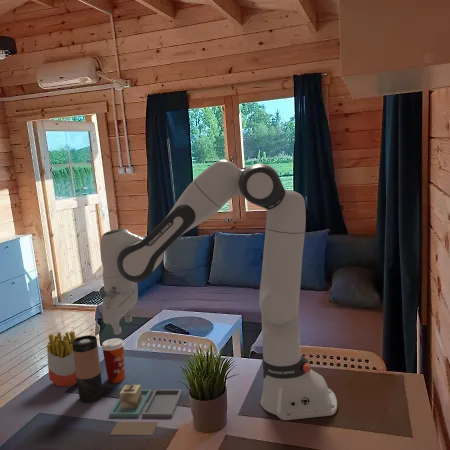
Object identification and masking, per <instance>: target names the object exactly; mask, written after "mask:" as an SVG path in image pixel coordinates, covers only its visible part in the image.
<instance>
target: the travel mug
mask: <svg viewBox="0 0 450 450" xmlns="http://www.w3.org/2000/svg"><path fill="white" fill-rule="evenodd" d="M75 338H76V337H75ZM72 346H73V355H74V363H75V372H76V379H77V383H76V384H77V390H78V397H79V401H80V402H81V403H83V404H92V403H95V402H98V401H100V399H102V398H103V393H104V392H103V382H102V381H103V380H102V371H101V370H102V369H101V363H100V355H99V346H98V339H97V336H95V335H92V334H91V335H90V334H89V335H81V336H78V338H76V339H75V340H74V342H73V343H72Z"/></svg>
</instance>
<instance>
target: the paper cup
mask: <svg viewBox="0 0 450 450" xmlns="http://www.w3.org/2000/svg"><path fill="white" fill-rule="evenodd" d="M124 345H125V342H124V340H123V339H122V338H119V337H117V338H116V337H115V338H110V339H107V340H104V341H103V342H102V345H101V350H102V353H103V359H104V365H105V371H106V375H107V381H108V382H109V383H111V384H117V383H120V382H123V381H124V380H125V379H126V378H125V377H126V375H125V372H126V371H125V370H126V369H125V351H124Z"/></svg>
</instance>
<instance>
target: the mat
mask: <svg viewBox="0 0 450 450" xmlns="http://www.w3.org/2000/svg"><path fill="white" fill-rule="evenodd" d="M158 424H159V422H158V421H117V422H116V423H115V425H114V427H113V429H112V430H111V432H110V434H109V436H148V437H149V436H153V435H154V432H155V430H156V427H157V425H158Z"/></svg>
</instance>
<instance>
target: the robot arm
mask: <svg viewBox="0 0 450 450" xmlns="http://www.w3.org/2000/svg"><path fill="white" fill-rule="evenodd" d="M236 196H237V197H238V196H243V198H244V199H245V200H247V202H249V203H251V204H253V205H255V206H258V207H260V208H263V209H265V211H266V223H265V224H266V225H265V233H264V234H265V235H264V245H263V255H262V265H261V275H260V276H261V277H260V287H259V296H258V305H259V308H260V311H261V338H262V355H263V356H262V360H261V370H262V372H261V373H262V376H263V387H262V394H261V398H260V405H261V407H262V409H264V410H265V411H266V412H267V413H270V414H272V415H275V416H276V417H278V418H279V420H282V421H290V420H299V419H300V420H301V419H310V418H318V417H327V416H328V417H330V416H334V414H336V412H337V410H338V400H337V397H336V394H335V393H334V391H333V390H332V389H330V388H329V387H328V384H327V382H326V380H325V378H324V377H323V376H322V375H321V374H320V373H317V372H316V371H315V370H312V368H311V366H310V364H309V361H308V359H307V356H306V355H304V356H303V355H302V354H301V353H302V351H301V331H300V318H299V306H300V295H301V283H302V282H301V281H302V268H303V266H302V264H303V254H304V253H303V252H304V245H305V235H306V221H307V219H306V218H307V217H306V216H307V215H306V201H305V198H304V196H303V195H302V194H301V193H299V192H297V191H295V190H290V189H286V188H284V185H283V182H282V181H281V179H280V176H279V174H278V171H276V169H275V168H273V166H271V165H269V164H266V163H263V162H262V163H261V162H260V163H259V162H258V163H254V164H251V165H250V166H246V167H245V166H244V167H242V168H240V167H239V166H237V165H236V164H235V163H234V162H232V161H230V160H228V159H218V160H217V161H216V162H214V163H212V164H211V165H210V166H208V167H206V169H205V170H203V171H202V172H201V173H200V174H199V175H197V177H196V178H194V180H192V182H191V183H189V185H188V186H187V187H186V189H184V191H183V192H182V193H181V195H180V196H179V198H178V199H177V201H176V203H175V204H174V205H173V206H172V209H170V211H169V213H168V214H167V215H166V217H165V218H164V219H163V220H162V221H160V223H159V224H158V225H157V226H155V228H153V230H152V231H151V232H150V233H149V234H148V235H146V237H144V236H141V235H138V234H135V233H133V232H131V231H129V230H128V229H127V228H123V227H121V228H116V229H111V230H109V231H107V232H104V233H103V234H102V236H101V237H100V243H99V245H100V246H99V247H100V249H99V250H100V262H101V264H102V267H103V270H102V280H103V290H104V292H105V293H106V295H105V296H104V298H103V299H102V306H101V307H102V321H103V323H104V324H105V325H111V327H112V329H113V334H114V335H117V336H119V335H120V334H121V333H122V327H121V326H120V320H121V319H122V318H124V322H125V323H131V322H132V321H133V309H134V308H133V307H134V306H135V305H136V304H137V303H138V299H139V291H138V283H140V282H144V281H145V280H147V279H148V278H149V277H150V276H151V274H152V273H153V272H154V271H155V270H156V269H157V267H159V265H161V263H162V262H163V260H164V255H165V252H166V251H167V250H168V249H169V248H170V246H172V245H173V244H174V243H175V242H176V241H177V240H178V239H179V238H180V237H181V236H183V235H184V234H186V233H187V232H189V231H190V230H191V229H193V228H195V227H197V226H199V225H200V224H202V223H204V222H205V221H208V220H209V219H210V218H212V217H213V216H214V215H215V214H216V213H217V212H218V211H220V210H221V209H222V208H223V207H224V206H225V205H226V204H227V203H228V202H229V201H230V200H231V199H232V198H234V197H236Z"/></svg>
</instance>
